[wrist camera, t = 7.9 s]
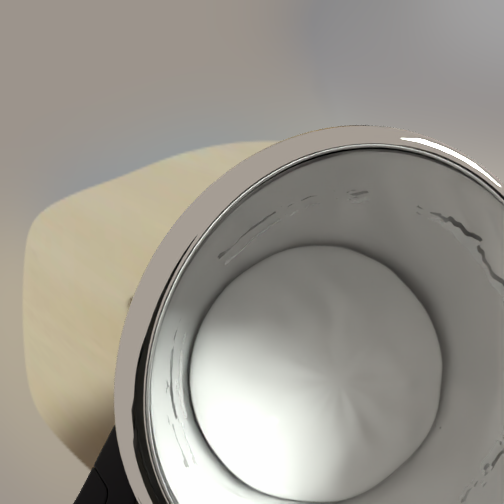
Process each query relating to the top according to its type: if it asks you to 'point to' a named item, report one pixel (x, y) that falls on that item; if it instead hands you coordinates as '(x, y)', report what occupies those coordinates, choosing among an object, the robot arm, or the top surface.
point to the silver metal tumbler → (323, 331)
